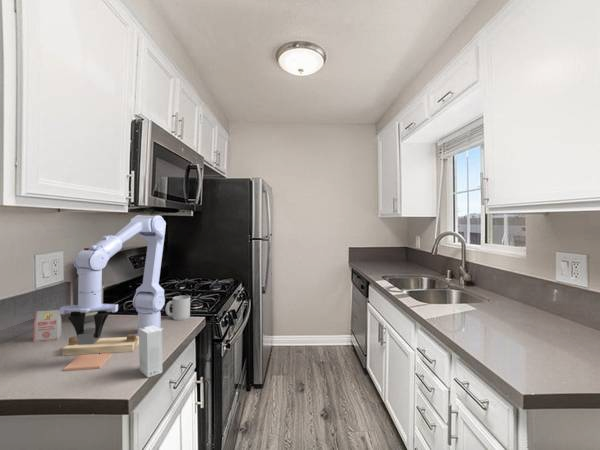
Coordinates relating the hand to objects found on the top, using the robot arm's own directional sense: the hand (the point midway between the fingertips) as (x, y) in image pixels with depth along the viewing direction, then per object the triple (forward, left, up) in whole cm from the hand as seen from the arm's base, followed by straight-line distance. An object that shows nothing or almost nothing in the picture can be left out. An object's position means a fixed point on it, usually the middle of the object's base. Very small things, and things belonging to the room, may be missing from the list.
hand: (89, 337), depth 91 cm
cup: (-40, +18, -8) cm, 45 cm away
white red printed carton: (-22, -22, -8) cm, 32 cm away
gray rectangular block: (0, 0, -1) cm, 1 cm away
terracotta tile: (0, 0, -8) cm, 8 cm away
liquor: (-43, -18, -8) cm, 47 cm away
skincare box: (+9, +19, -8) cm, 22 cm away
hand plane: (-10, 0, -8) cm, 12 cm away
